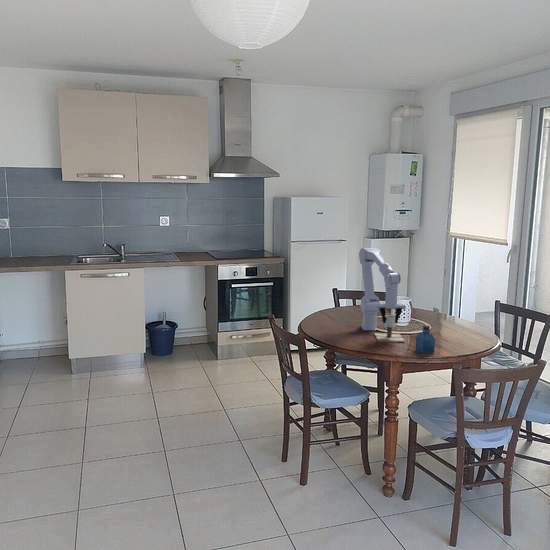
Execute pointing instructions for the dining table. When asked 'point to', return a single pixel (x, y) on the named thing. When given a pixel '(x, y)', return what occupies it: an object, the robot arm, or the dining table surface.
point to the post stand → (389, 336)
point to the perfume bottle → (425, 341)
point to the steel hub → (390, 321)
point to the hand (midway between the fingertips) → (389, 322)
